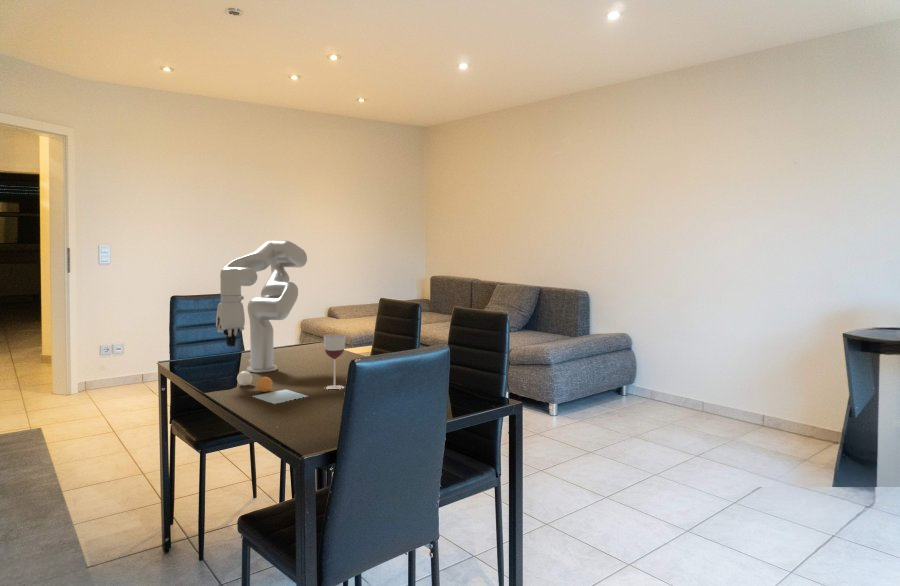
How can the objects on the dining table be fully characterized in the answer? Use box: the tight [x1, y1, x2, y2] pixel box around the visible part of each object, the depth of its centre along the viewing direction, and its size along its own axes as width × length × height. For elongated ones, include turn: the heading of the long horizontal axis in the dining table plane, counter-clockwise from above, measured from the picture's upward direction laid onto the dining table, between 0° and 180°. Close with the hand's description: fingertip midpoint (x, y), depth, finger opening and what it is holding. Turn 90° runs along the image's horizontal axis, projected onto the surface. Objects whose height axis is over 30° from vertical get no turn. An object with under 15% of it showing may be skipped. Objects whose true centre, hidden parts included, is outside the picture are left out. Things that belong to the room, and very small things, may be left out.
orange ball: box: [256, 376, 274, 393], centre depth 214 cm, size 6×6×6 cm
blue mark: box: [252, 389, 309, 405], centre depth 208 cm, size 14×14×1 cm
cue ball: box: [236, 370, 253, 387], centre depth 223 cm, size 6×6×6 cm
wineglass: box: [323, 333, 346, 390], centre depth 222 cm, size 8×9×20 cm
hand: (231, 345), depth 228 cm, fingers closed
